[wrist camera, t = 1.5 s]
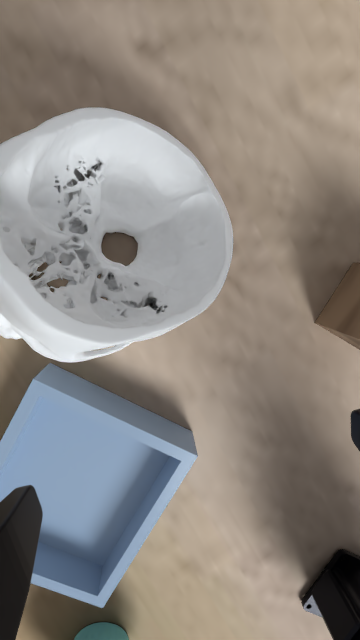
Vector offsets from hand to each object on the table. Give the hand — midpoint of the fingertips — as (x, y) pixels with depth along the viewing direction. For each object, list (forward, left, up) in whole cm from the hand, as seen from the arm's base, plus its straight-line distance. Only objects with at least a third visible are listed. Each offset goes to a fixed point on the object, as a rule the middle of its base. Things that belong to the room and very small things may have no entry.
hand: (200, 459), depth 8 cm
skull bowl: (+6, -3, -14) cm, 16 cm away
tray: (+1, +12, -14) cm, 18 cm away
